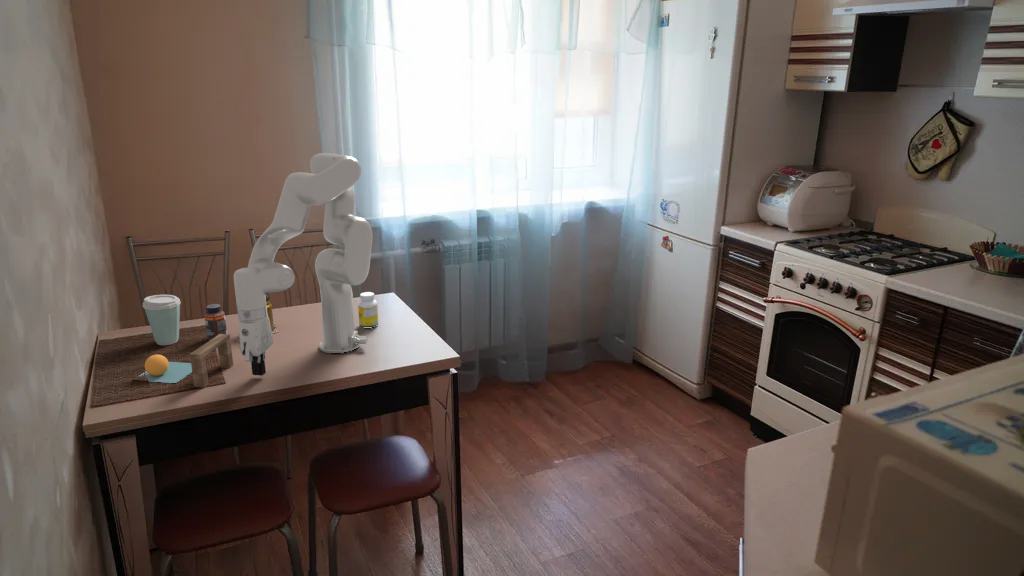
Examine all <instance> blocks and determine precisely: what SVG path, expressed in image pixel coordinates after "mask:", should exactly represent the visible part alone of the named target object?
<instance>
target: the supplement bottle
mask: <svg viewBox="0 0 1024 576" xmlns="http://www.w3.org/2000/svg"><path fill="white" fill-rule="evenodd" d="M226 321H227V320H226V314H225V311H224V310H222V309H221V305H220V304H219V303H212V304H209V305H208V304H207V306H206V312H205V314H204V322H205V328H206V336H207V340H208V342H209V341H210V340H212V339H213V338H214V337H216V336H217V335H219V334H228V329H227V322H226Z"/></svg>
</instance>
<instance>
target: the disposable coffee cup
mask: <svg viewBox="0 0 1024 576" xmlns="http://www.w3.org/2000/svg"><path fill="white" fill-rule="evenodd" d="M181 303H182V302H181V299H180V298H179V297H177V295H173V294H155V295H150V296H146V297H145V298H144V299H143V302H142V308H143V309H144V311H145V314H146V317H147V320H148V324H149V327H150V329H151V332H152V337H153V338H154V342H155V343H156V345H159V346H169V345H173V344H175V343H177V342H178V341H179V338H180V315H181V312H180V311H181Z"/></svg>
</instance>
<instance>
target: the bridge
mask: <svg viewBox="0 0 1024 576" xmlns="http://www.w3.org/2000/svg"><path fill="white" fill-rule="evenodd" d="M215 349H217V354H218V360H219V368H221V369H222V368H225V369H231V368H232V367H233V366H234V358H233V352H232V343H231V335H230V334H228V333H227V334H219V335H217V336H216V337H214V338H213V339H212V340H210V341H209V340H208V341H207V342H206V343H204V344H202V345H201V346H199V347H198V348H197V349H195V350H194V351H192V352H190V353H189V359H190V363H191V366H192V373H191V374H192V379H193V385H194V386H193V387H194V388H203V389H205V388H206V387H208V386H207V385H208V384H209V375H208V370H207V369H208V368H207V362H206V361H207V360H206V356H207V355H209V354H210V353H212V351H214V350H215Z"/></svg>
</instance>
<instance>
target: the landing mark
mask: <svg viewBox="0 0 1024 576" xmlns="http://www.w3.org/2000/svg"><path fill="white" fill-rule="evenodd" d="M168 362H169V367H168V369H167V371H166V372H165V373H164V374H162V375H159V376H153V375H150V374H149V373H147V371H146V370H145V371H144V372H145V373H146V374H145V373H144V372H142V373H141V374H140V375H138V376H140V377H141V376H142V375H143V376H144V374H145V375H146V377H147V379H148V381H149V382H148V383H157V382H161V384H171V383H177V382H178V383H179V382H181V381H182V380H183V379H185V378H186V377H188V376H189V375H191V374H192V366H191V362H178V361H168ZM187 375H188V376H187ZM180 380H181V381H180ZM178 383H177V384H178Z"/></svg>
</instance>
